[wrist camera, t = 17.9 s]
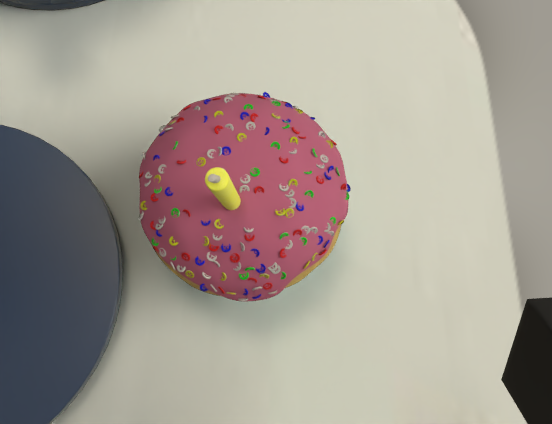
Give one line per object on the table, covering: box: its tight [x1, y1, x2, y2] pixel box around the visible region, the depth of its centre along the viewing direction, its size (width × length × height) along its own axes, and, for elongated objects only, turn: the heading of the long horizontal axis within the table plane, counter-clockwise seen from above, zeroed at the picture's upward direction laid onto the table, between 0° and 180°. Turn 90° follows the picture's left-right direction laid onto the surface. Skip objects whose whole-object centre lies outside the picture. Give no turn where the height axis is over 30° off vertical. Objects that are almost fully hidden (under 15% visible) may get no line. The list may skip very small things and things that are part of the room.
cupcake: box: [139, 92, 350, 301], centre depth 18 cm, size 9×8×12 cm
